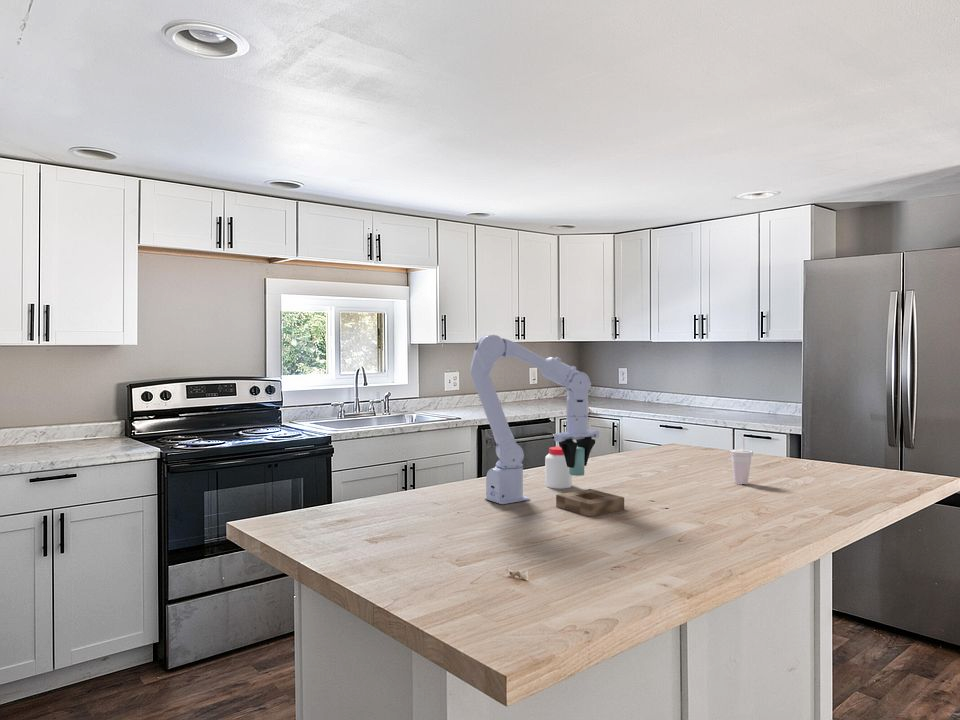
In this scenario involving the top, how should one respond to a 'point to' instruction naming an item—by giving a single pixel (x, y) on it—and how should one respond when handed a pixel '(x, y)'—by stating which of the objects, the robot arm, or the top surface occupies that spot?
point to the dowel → (578, 463)
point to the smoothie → (741, 464)
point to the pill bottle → (557, 470)
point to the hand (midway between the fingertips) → (576, 466)
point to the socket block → (590, 502)
